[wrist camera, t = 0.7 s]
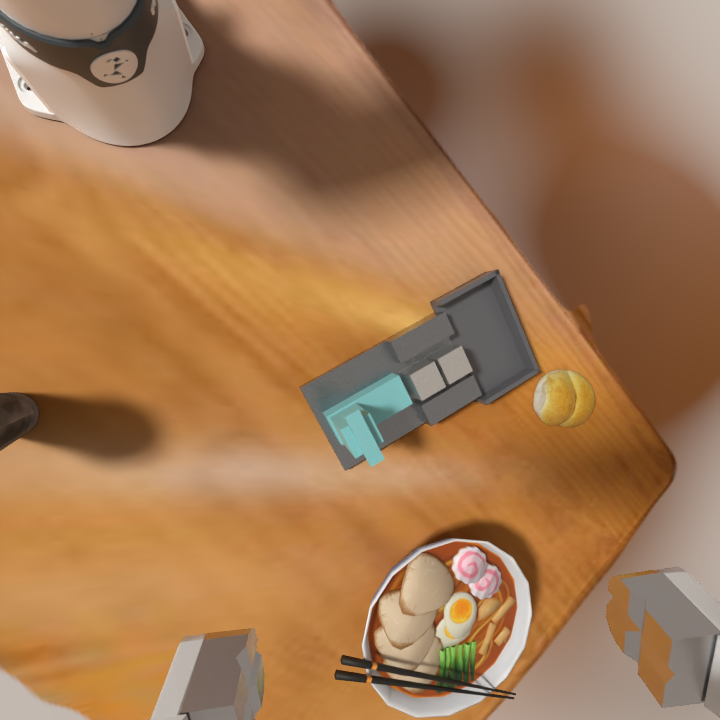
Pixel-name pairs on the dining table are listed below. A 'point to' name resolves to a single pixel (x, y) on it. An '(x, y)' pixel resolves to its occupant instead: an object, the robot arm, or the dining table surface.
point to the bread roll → (563, 398)
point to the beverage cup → (16, 417)
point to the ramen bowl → (444, 628)
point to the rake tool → (367, 416)
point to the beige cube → (422, 379)
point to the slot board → (380, 364)
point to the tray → (488, 334)
